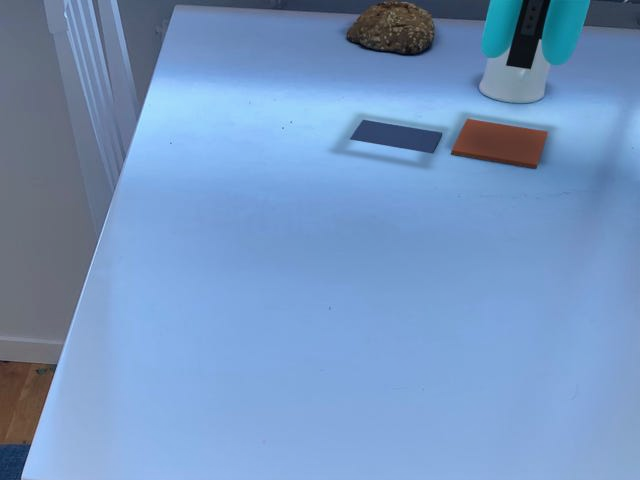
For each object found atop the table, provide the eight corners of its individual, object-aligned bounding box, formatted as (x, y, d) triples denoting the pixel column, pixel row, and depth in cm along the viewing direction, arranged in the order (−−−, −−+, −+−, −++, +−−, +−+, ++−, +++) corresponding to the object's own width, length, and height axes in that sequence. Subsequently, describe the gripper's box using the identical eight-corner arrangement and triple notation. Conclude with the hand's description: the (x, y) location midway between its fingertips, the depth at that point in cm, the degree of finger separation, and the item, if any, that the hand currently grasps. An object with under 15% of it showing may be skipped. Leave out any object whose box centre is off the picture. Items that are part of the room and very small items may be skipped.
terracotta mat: (547, 135, 116) (548, 131, 116) (536, 168, 110) (537, 164, 109) (466, 122, 119) (467, 118, 118) (450, 154, 112) (451, 149, 112)
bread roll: (438, 33, 143) (446, -6, 139) (427, 58, 135) (436, 18, 131) (354, 23, 145) (360, -15, 141) (339, 47, 137) (345, 7, 133)
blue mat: (441, 136, 115) (442, 132, 115) (422, 173, 108) (423, 169, 108) (362, 123, 118) (362, 119, 117) (338, 158, 110) (338, 154, 110)
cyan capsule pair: (480, 41, 111) (505, -62, 104) (567, 51, 110) (598, -53, 102) (475, 68, 105) (501, -39, 98) (567, 79, 103) (601, -30, 96)
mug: (546, 115, 121) (579, 6, 112) (479, 108, 122) (506, 0, 113) (541, 84, 129) (572, -20, 120) (478, 78, 130) (503, -26, 121)
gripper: (569, -227, 98) (505, 18, 115) (543, -197, 84) (475, 78, 100) (644, -221, 96) (569, 27, 113) (631, -190, 82) (547, 89, 99)
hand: (525, 51), depth 107 cm, fingers closed on cyan capsule pair, 10 cm apart
